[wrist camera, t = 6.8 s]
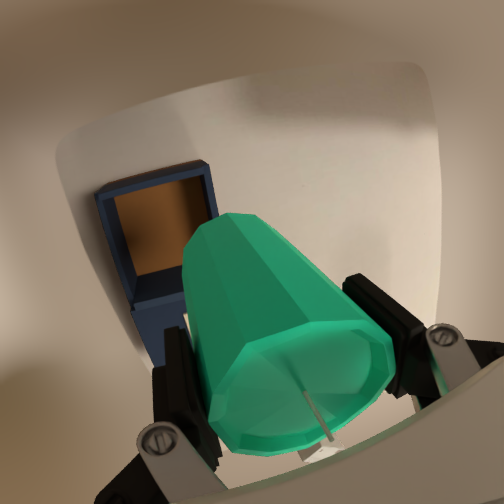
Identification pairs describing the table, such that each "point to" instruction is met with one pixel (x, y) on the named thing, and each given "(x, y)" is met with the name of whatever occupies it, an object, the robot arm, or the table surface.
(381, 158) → the table surface
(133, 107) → the table surface
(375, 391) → the candle
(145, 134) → the table surface
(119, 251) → the navy slotted box
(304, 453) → the cosmetic box
